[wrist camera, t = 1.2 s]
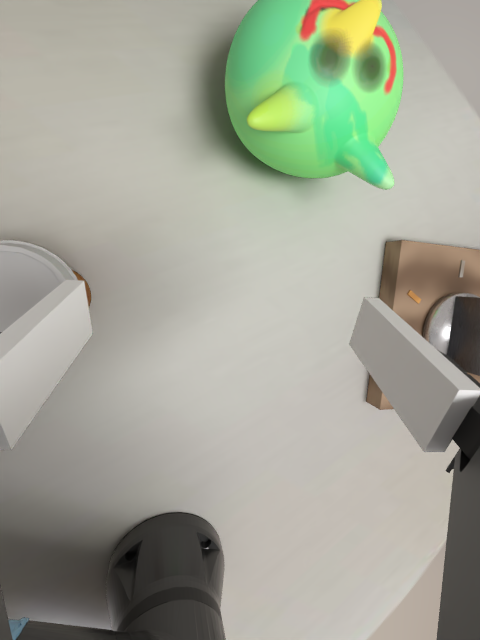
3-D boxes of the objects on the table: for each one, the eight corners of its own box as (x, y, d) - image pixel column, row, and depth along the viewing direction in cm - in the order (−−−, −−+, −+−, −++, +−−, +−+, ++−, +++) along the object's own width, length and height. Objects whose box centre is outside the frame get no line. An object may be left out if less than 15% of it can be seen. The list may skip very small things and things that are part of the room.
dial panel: (474, 396, 52) (494, 404, 49) (366, 401, 46) (380, 410, 43) (497, 256, 49) (520, 254, 46) (385, 242, 43) (403, 239, 40)
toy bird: (358, 85, 39) (470, -23, 25) (333, 215, 41) (424, 183, 27) (225, 29, 34) (272, -145, 20) (202, 180, 36) (230, 116, 22)
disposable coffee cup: (55, 233, 33) (-2, 209, 21) (124, 295, 35) (107, 303, 24) (-11, 296, 32) (-107, 306, 20) (65, 354, 34) (17, 392, 23)
